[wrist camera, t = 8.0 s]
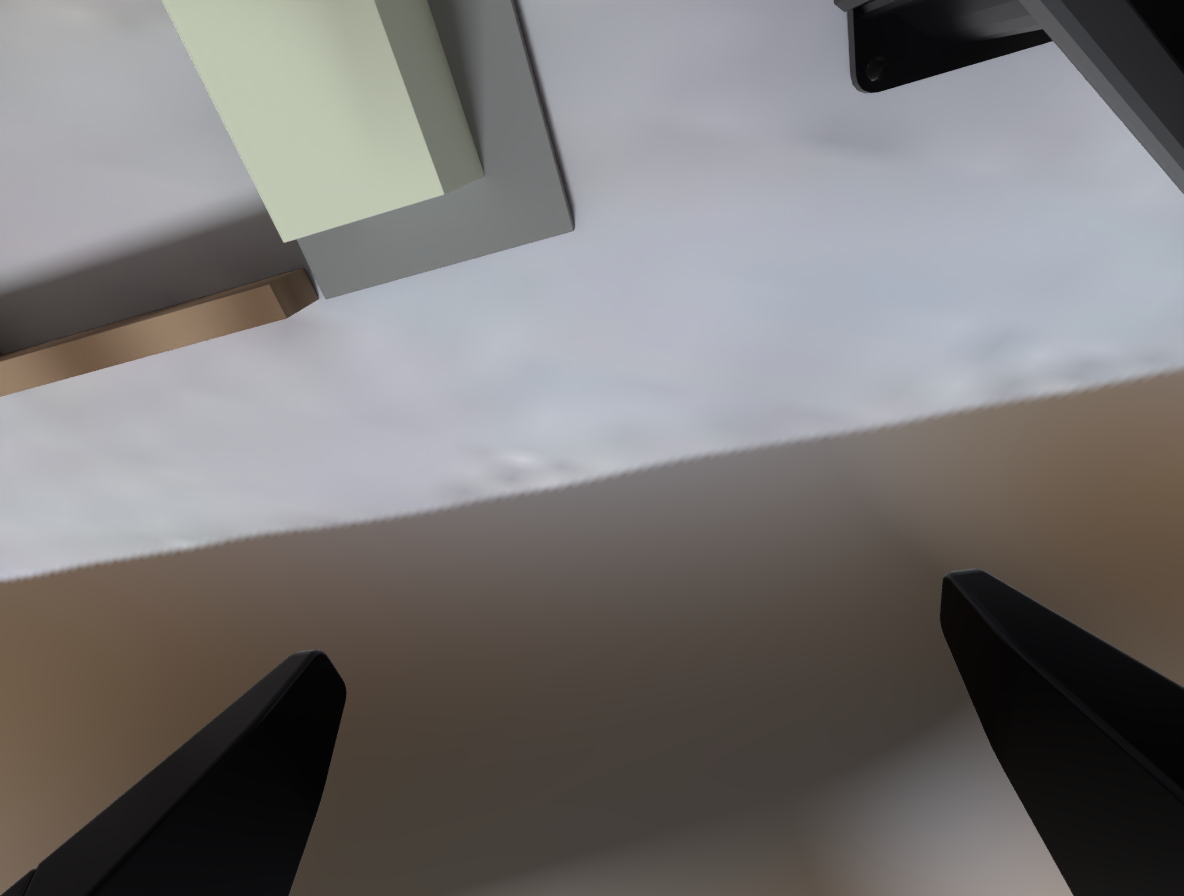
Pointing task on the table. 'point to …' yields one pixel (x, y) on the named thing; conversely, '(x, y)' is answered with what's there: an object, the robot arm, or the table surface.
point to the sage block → (332, 104)
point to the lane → (157, 331)
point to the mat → (483, 207)
